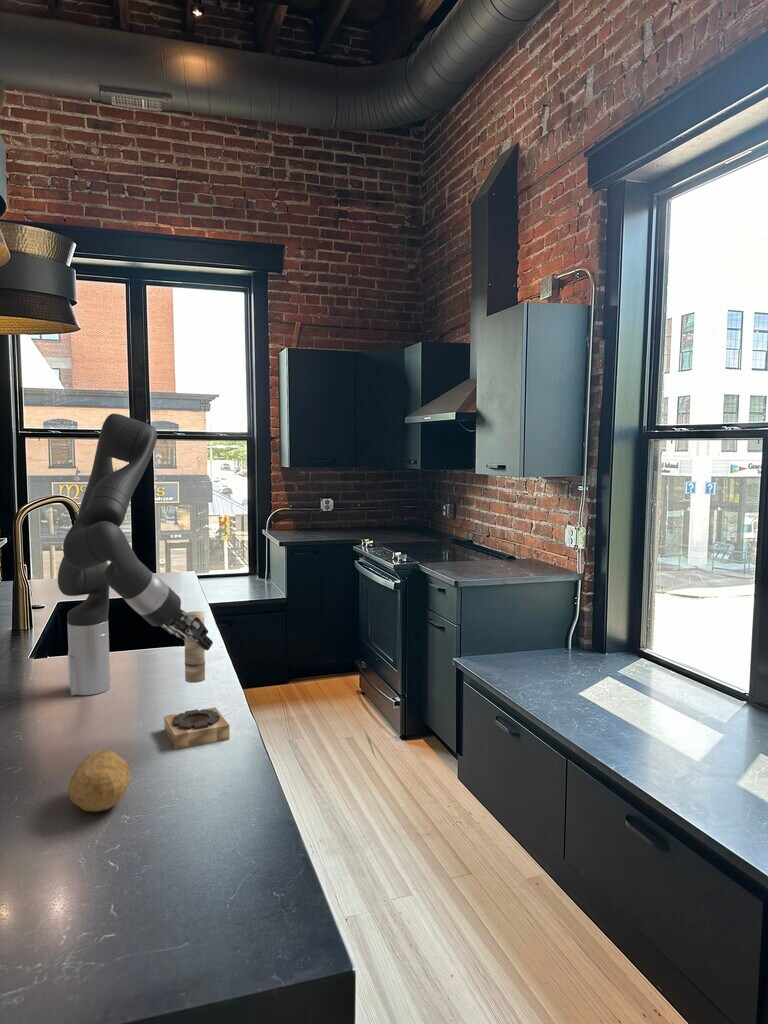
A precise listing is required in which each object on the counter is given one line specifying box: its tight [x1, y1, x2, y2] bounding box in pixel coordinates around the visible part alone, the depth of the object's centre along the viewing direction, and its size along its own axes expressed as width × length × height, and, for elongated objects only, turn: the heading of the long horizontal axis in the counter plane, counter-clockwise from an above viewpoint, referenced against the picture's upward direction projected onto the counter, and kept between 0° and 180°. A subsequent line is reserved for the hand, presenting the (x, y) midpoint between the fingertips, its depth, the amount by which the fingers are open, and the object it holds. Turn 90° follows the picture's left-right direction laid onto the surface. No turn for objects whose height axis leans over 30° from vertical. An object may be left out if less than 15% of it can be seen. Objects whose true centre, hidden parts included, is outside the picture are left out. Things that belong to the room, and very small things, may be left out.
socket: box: [163, 707, 230, 750], centre depth 147 cm, size 11×11×4 cm
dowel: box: [184, 610, 206, 684], centre depth 145 cm, size 4×4×14 cm
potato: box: [67, 749, 132, 813], centre depth 118 cm, size 10×14×8 cm
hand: (202, 644), depth 147 cm, fingers closed on dowel, 4 cm apart
